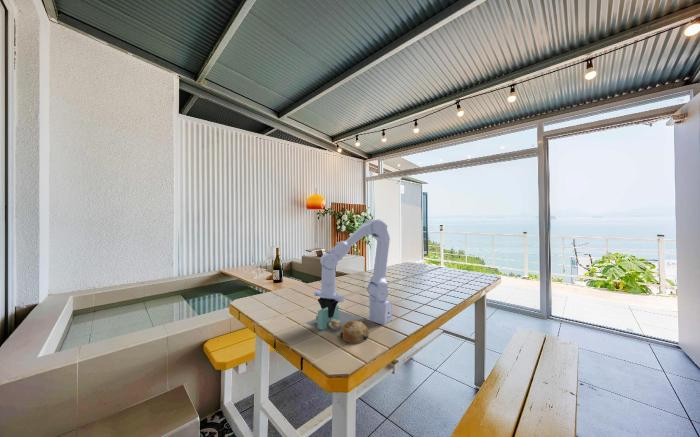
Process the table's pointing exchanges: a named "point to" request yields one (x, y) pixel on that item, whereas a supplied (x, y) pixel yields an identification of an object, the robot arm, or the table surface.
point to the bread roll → (354, 332)
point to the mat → (343, 318)
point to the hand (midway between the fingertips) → (328, 316)
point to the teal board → (326, 317)
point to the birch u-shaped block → (332, 324)
